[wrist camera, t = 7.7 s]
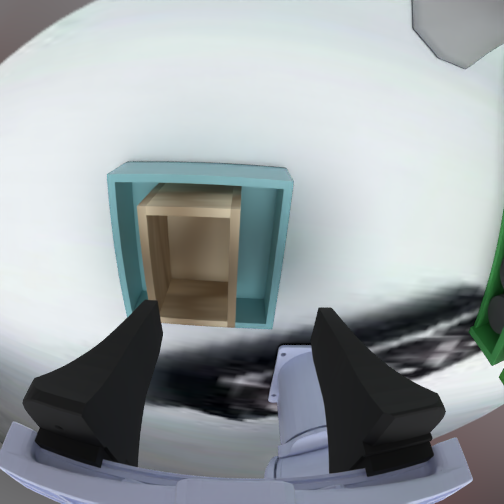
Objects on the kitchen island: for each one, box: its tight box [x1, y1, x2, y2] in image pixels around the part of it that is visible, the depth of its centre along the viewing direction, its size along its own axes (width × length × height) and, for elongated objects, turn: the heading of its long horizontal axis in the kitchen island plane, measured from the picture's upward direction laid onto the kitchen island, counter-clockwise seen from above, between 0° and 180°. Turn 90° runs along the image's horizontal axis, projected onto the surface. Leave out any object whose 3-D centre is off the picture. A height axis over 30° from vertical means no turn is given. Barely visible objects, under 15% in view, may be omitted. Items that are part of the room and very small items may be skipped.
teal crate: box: [107, 161, 294, 329], centre depth 21 cm, size 11×11×4 cm
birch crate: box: [137, 183, 242, 328], centre depth 19 cm, size 6×8×5 cm
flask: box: [413, 0, 504, 69], centre depth 9 cm, size 7×7×10 cm
